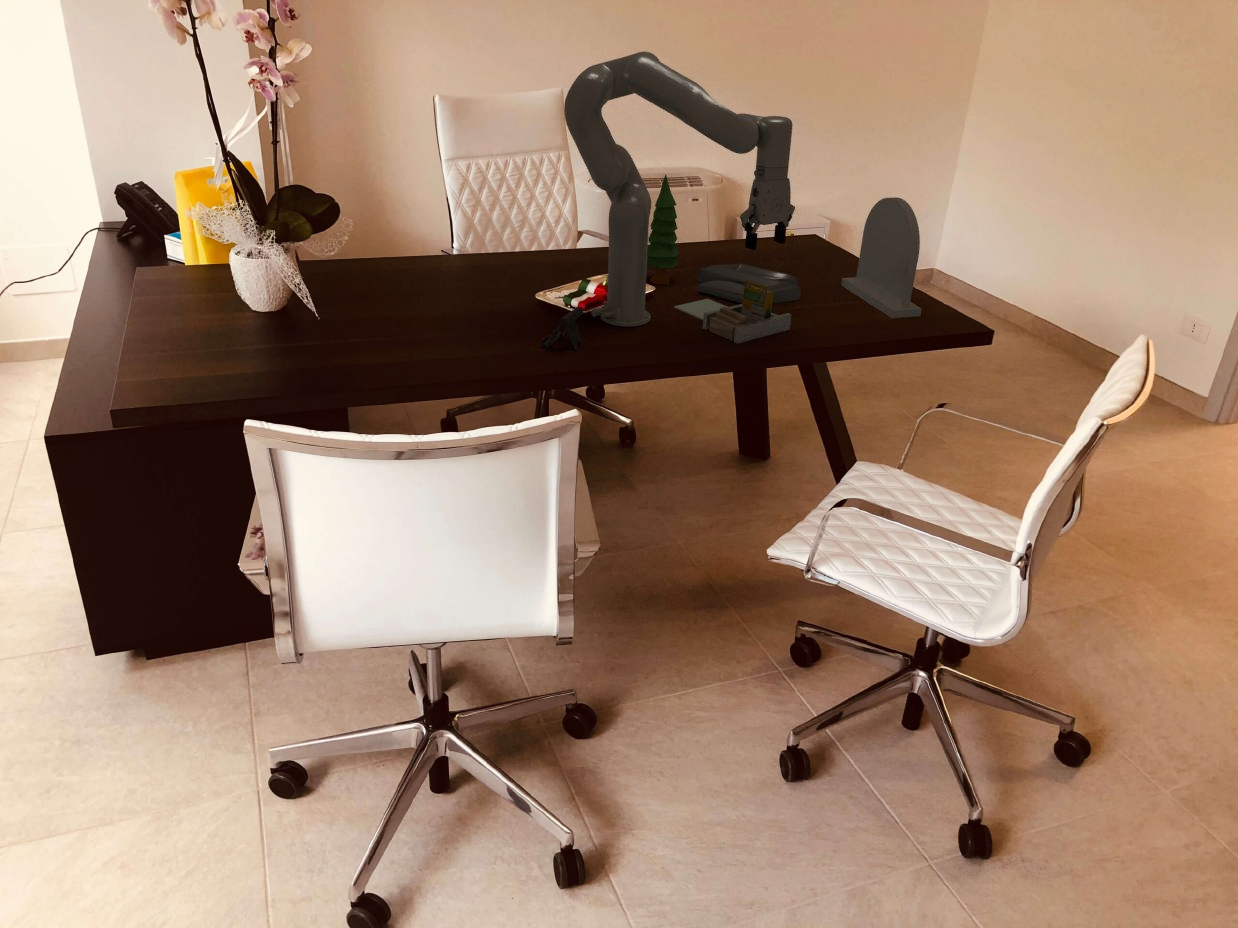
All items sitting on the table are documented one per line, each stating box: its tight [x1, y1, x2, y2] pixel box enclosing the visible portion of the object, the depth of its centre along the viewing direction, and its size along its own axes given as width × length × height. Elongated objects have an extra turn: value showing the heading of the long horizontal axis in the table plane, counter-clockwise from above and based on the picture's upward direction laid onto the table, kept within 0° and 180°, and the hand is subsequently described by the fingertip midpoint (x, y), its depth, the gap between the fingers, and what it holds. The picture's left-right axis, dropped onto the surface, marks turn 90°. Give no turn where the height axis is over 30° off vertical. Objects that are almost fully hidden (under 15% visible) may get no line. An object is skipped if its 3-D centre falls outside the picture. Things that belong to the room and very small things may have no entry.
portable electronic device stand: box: [540, 306, 584, 351], centre depth 225 cm, size 9×8×8 cm
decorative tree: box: [647, 174, 680, 285], centre depth 266 cm, size 10×9×30 cm
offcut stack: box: [708, 307, 747, 342], centre depth 236 cm, size 4×8×6 cm, turn 38°
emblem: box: [696, 263, 801, 305], centre depth 267 cm, size 28×5×28 cm
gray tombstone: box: [840, 196, 922, 319], centre depth 258 cm, size 28×9×28 cm, turn 17°
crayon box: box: [741, 280, 774, 323], centre depth 240 cm, size 7×3×12 cm, turn 44°
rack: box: [702, 303, 792, 344], centre depth 240 cm, size 18×12×4 cm
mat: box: [673, 298, 728, 321], centre depth 252 cm, size 12×12×1 cm
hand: (765, 245), depth 233 cm, fingers open, 9 cm apart
